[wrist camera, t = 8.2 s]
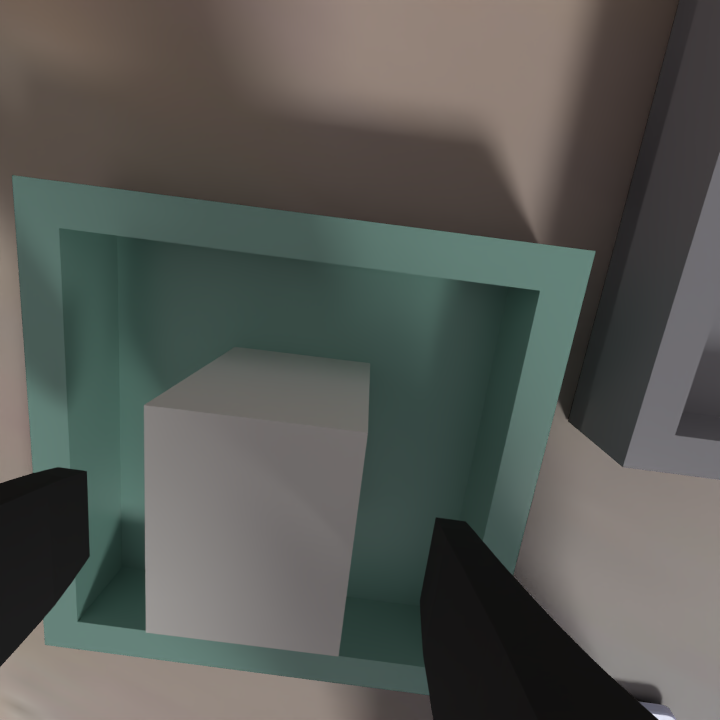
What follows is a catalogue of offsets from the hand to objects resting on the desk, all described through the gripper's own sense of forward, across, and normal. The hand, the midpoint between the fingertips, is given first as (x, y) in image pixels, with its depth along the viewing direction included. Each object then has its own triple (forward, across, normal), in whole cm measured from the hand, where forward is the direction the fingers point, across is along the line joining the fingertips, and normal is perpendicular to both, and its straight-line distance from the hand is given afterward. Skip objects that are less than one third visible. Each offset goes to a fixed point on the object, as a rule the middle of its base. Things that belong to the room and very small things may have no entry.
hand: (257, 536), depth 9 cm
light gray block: (+4, 0, 0) cm, 5 cm away
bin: (+5, 0, 0) cm, 5 cm away
